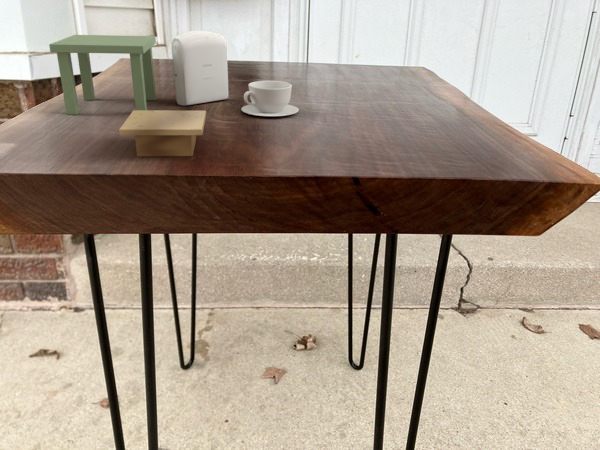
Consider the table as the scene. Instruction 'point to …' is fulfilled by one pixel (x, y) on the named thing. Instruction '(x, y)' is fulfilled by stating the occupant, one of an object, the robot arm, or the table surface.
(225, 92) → the photo printer
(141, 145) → the low shelf
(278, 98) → the teacup
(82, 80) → the high shelf
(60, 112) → the table surface
